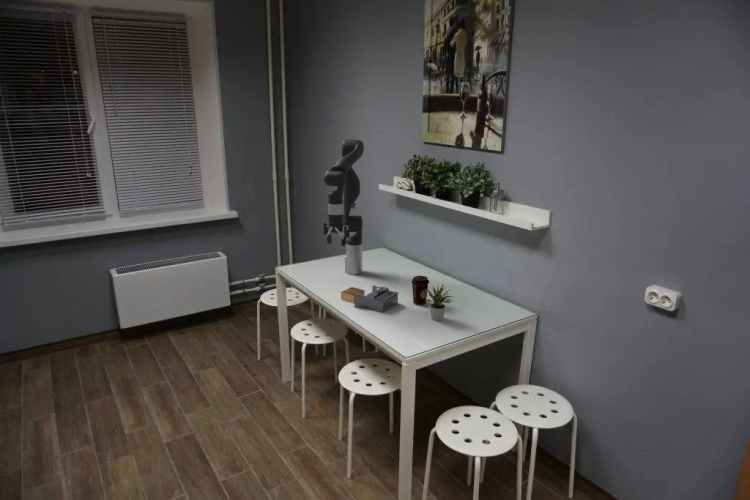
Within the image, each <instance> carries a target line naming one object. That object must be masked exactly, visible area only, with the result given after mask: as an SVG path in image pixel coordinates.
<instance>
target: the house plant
mask: <svg viewBox="0 0 750 500" xmlns="http://www.w3.org/2000/svg"><path fill="white" fill-rule="evenodd" d="M439 285H440V284H438V283H437V287H436V288H435V287H434V286H433V285H432V288H431V287H430V289H431V290H432V291H433V292H432V291H431V290H430V289H429V288H428V290H427V289H426V290H427V293H428V296H429V297H430V298H431V299H432V300H431V299H429V298H426V303H430V304H429V310H430V311H429V312H430V316H431V320H432V321H434V322H441V321H443V319H444V315H445V310H446V305H445V303H446V304H447V303H448V304H451V302H453V300H452V299H450V298H453V296H452V295H450V293H448V292H450V291H452V290H453V289H448V290H447V291H445V292H444V293H443V291H444V290H445V289H446V288H447V286H446V287H445V284H442V285H441V286H439ZM424 291H425V290H424ZM433 293H434V295H433ZM442 293H443V294H442Z"/></svg>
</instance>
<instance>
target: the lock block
mask: <svg viewBox="0 0 750 500" xmlns="http://www.w3.org/2000/svg"><path fill="white" fill-rule="evenodd" d="M365 291H366V290H365V289H361V288H357V287H354V286H351V287H348V288H346V289H345V290H342V291H341V292H340V300H342V301H345V302H350V303H353V304H354V296H355V295H362V296H366V295H365V294H366V293H365Z"/></svg>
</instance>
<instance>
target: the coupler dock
mask: <svg viewBox="0 0 750 500" xmlns="http://www.w3.org/2000/svg"><path fill="white" fill-rule="evenodd" d="M371 287H372V290H371V292H370V293H368V294H366V295H365V296H362V295H355V296H354V303H353V304H354V308H364V309H368V310H372V311H375V312H380V313H385V312H387V311H388V310H389V309H392V307H395V306H396V305H397V304H399V301H398V300H399V292H397V291H393V290H390V289H389V287H385V286H376V285H375V284H373V285H371Z"/></svg>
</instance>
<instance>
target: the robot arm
mask: <svg viewBox="0 0 750 500" xmlns="http://www.w3.org/2000/svg"><path fill="white" fill-rule="evenodd" d="M364 149H365V145H364V142H363V141H362V140H360V139H349V138H347V139H346V138H344V139H343V140H342V143H341V158H339V159H338V160H337V161H336V163H335V164H334V166H332V167H331V168H328V170H327V171H325V173H324V175H323V182H324V184H325V185H326V186H328V187H337V188H336V190H330V191H329V192H328V193H327V203H328V204H327V205H328V206H327V219H328V220H327V222H324V223H323V230H322V231H323V235H325V236H326V242H327V244H328V245H329V244H332V241H333V240H332V235H333V233H334V234H338V236H340V238H341V240H340V241H341V247H345V252H346V253H345V256H344V272H345V273H346V274H348V275H353V276H354V275H360V274H362V273H363V226H364V224H363V223H364V222H363V218H362V216H361V215H350V213H351V210H352V207H353V205H354V204H355V202H356V201H357V200H358V199H359V196H360V194H361V181H360V178H359V176H358V174H357V173H356V171H355V170H354V168H353V165H354V164H355V163H356V162H357V161H358V160H360V159H361V157H362V156H363V155H364V151H365V150H364ZM350 233H355V234H353V235H351V236H350Z"/></svg>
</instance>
